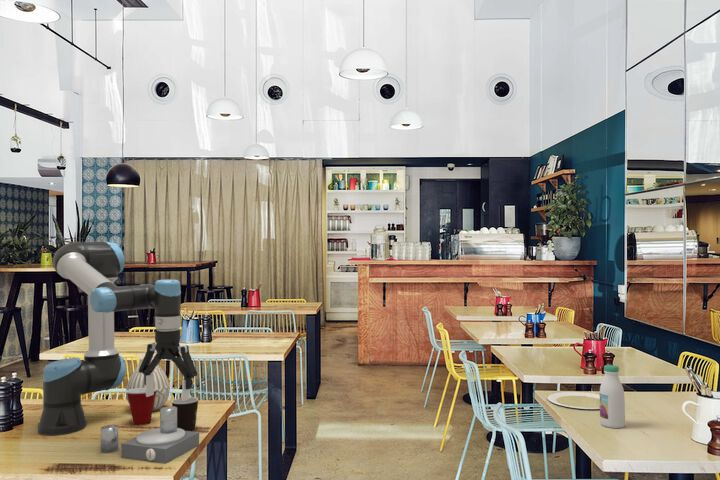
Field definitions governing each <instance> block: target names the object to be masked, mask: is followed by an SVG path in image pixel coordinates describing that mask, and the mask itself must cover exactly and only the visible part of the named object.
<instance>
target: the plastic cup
mask: <svg viewBox="0 0 720 480" xmlns="http://www.w3.org/2000/svg"><path fill="white" fill-rule="evenodd" d="M157 391H158V388H154V395H151V396H149V397H146V388H137V389H131V390H127V391H126V390H125V394H126V393H127V395H128V400H129V403H128V404H130V405H129V409H130V413H131V419H132V423H133V425H135V426H143V425H144V426H145V425H148V424H150V423H151V421H152V416H153V413H154V411H153V406H154V399H155V395H156V392H157Z"/></svg>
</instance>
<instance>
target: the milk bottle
mask: <svg viewBox="0 0 720 480" xmlns="http://www.w3.org/2000/svg"><path fill="white" fill-rule="evenodd" d="M619 371H620V368H619V366H617V365H615V364H614V365H613V364H606V365H604V366H603V372H604V376H603V380H602V381H601V384H600V386H599V395H600V399H599V408H600V410H599V421H600V422H599V423H600V425H601V426H603V427H605V428H609V429H622V428H624V427H625V426H626V411H625V410H626V409H625V407H626V406H625V390H624V387H623V385H622V382H621V380H620V378H619V377H620V376H619V373H620V372H619Z"/></svg>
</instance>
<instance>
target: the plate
mask: <svg viewBox="0 0 720 480" xmlns="http://www.w3.org/2000/svg"><path fill="white" fill-rule="evenodd" d="M567 396H571V397H572V396H573V397H576V396H577V397H588V398H594V399H598V400H600V394H599V393H593V392H591V393H590V392H583V391H562V392H555V393H552V394H550V395H548V397H547V400H548V401H549V402H551V404H554V405H557V406H559V407H563V408H569V409H576V410H584V411H587V410H589V411H590V410H591V411H593V410H594V411H598V410H599V411H600V407H581V406H571V405H566V404H562V403H559V402H558V401H557V399H558V398H562V397H567Z"/></svg>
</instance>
